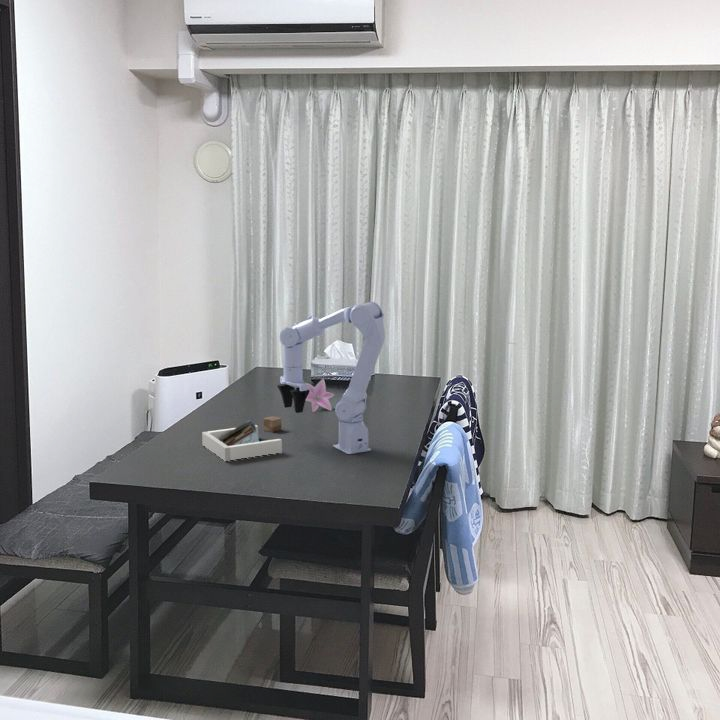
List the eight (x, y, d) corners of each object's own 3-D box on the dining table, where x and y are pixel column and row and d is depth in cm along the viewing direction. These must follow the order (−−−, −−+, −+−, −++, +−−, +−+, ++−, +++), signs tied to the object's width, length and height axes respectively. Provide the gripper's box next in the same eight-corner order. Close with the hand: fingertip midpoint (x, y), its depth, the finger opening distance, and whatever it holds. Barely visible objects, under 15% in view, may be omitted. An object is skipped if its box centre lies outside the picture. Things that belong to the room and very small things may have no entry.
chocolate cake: (224, 452, 249) (253, 424, 250) (216, 440, 255) (244, 412, 255) (244, 468, 256) (272, 439, 256) (235, 455, 261) (263, 428, 261)
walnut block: (281, 430, 272) (281, 418, 272) (272, 432, 269) (272, 420, 268) (272, 428, 275) (272, 416, 274) (263, 430, 272) (263, 418, 271)
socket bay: (281, 453, 247) (281, 439, 246) (225, 461, 239) (225, 448, 238) (256, 437, 263) (256, 425, 263) (202, 445, 255) (202, 432, 254)
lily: (294, 413, 297) (301, 393, 292) (300, 394, 307) (307, 374, 302) (327, 424, 298) (334, 403, 293) (331, 404, 308) (339, 384, 303)
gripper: (270, 363, 260) (271, 406, 262) (291, 371, 247) (292, 416, 250) (291, 361, 263) (292, 403, 266) (313, 369, 251) (313, 413, 253)
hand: (293, 409), depth 258 cm, fingers open, 7 cm apart
